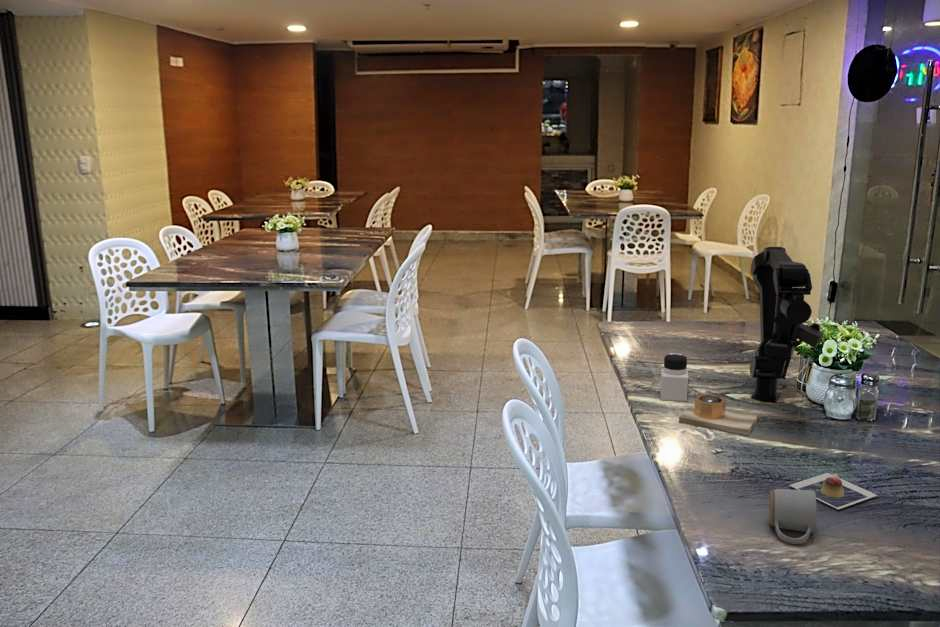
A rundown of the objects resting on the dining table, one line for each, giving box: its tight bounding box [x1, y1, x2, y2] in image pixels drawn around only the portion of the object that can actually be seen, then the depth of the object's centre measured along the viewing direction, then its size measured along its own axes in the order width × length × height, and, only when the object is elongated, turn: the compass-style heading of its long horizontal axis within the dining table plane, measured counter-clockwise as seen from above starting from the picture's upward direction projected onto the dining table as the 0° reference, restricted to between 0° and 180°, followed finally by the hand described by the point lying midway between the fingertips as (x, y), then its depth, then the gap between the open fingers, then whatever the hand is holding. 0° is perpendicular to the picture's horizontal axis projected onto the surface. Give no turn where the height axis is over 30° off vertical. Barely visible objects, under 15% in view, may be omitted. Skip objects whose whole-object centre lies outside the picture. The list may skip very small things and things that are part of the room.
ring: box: [694, 393, 727, 419], centre depth 202 cm, size 7×7×4 cm
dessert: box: [788, 472, 878, 510], centre depth 163 cm, size 12×12×5 cm
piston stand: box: [678, 402, 760, 436], centre depth 202 cm, size 12×17×2 cm
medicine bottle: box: [659, 353, 690, 402], centre depth 218 cm, size 7×7×12 cm
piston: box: [702, 397, 718, 403], centre depth 202 cm, size 4×4×4 cm
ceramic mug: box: [768, 488, 818, 545], centre depth 148 cm, size 11×8×8 cm
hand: (782, 373), depth 201 cm, fingers open, 9 cm apart
